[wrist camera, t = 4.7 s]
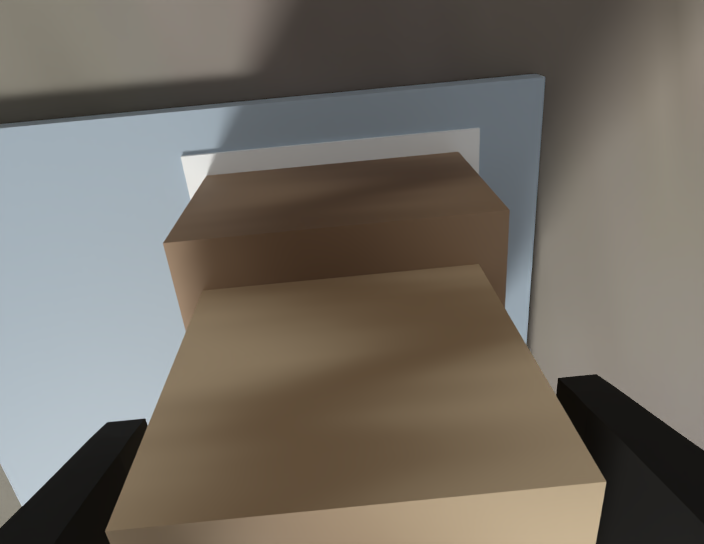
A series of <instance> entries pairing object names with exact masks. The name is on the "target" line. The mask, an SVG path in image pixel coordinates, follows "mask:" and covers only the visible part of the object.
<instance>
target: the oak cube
mask: <svg viewBox="0 0 704 544" xmlns="http://www.w3.org/2000/svg"><path fill="white" fill-rule="evenodd" d="M605 487H606V480H605V478H604V477H603V475H602V473H601V472H600V470H599V468H598V466H597V465H596V463H595V461H594V460H593V458H592V456H591V454H590V453H589V451H588V449H587V448H586V446H585V444H584V443H583V441H582V439H581V437H580V436H579V434H578V432H577V431H576V429H575V427H574V425H573V424H572V422H571V420H570V419H569V417H568V415H567V414H566V412H565V410H564V408H563V407H562V405H561V403H560V402H559V400H558V398H557V396H556V395H555V393H554V391H553V390H552V388H551V386H550V384H549V383H548V381H547V379H546V378H545V376H544V374H543V373H542V371H541V369H540V367H539V366H538V364H537V362H536V361H535V359H534V357H533V355H532V354H531V352H530V350H529V349H528V347H527V345H526V344H525V342H524V340H523V338H522V337H521V335H520V333H519V332H518V330H517V328H516V326H515V325H514V323H513V321H512V320H511V318H510V316H509V315H508V313H507V311H506V309H505V308H504V306H503V304H502V303H501V301H500V299H499V297H498V296H497V294H496V292H495V291H494V289H493V287H492V285H491V284H490V282H489V280H488V279H487V277H486V275H485V274H484V272H483V270H482V268H481V267H480V265H479V264H473V265H463V266H453V267H442V268H432V269H421V270H411V271H401V272H390V273H380V274H370V275H359V276H349V277H338V278H328V279H318V280H307V281H297V282H286V283H276V284H266V285H255V286H245V287H234V288H224V289H214V290H203V291H202V293H201V296H200V298H199V301H198V303H197V306H196V308H195V311H194V313H193V316H192V318H191V320H190V323H189V325H188V328H187V330H186V333H185V335H184V338H183V340H182V343H181V345H180V348H179V350H178V353H177V355H176V357H175V360H174V362H173V365H172V367H171V370H170V372H169V375H168V377H167V380H166V382H165V385H164V387H163V390H162V392H161V394H160V397H159V399H158V402H157V404H156V407H155V409H154V412H153V414H152V417H151V419H150V422H149V424H148V427H147V429H146V431H145V434H144V436H143V439H142V441H141V444H140V446H139V449H138V451H137V454H136V456H135V459H134V461H133V464H132V466H131V468H130V471H129V473H128V476H127V478H126V481H125V483H124V486H123V488H122V491H121V493H120V496H119V498H118V501H117V503H116V505H115V508H114V510H113V513H112V515H111V518H110V520H109V523H108V525H107V528H106V530H105V533H106V535H107V537H108V540H109V542H110V544H596V540H597V534H598V528H599V522H600V516H601V511H602V505H603V499H604V493H605Z"/></svg>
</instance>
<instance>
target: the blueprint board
mask: <svg viewBox="0 0 704 544" xmlns="http://www.w3.org/2000/svg"><path fill="white" fill-rule="evenodd" d="M544 90H545V77H544V76H541V75H539V74H527V75H516V76H506V77H495V78H484V79H474V80H463V81H453V82H442V83H431V84H421V85H410V86H399V87H389V88H378V89H368V90H357V91H346V92H336V93H325V94H315V95H304V96H293V97H283V98H272V99H262V100H251V101H240V102H230V103H219V104H208V105H198V106H187V107H177V108H166V109H155V110H145V111H134V112H124V113H113V114H102V115H92V116H81V117H70V118H60V119H49V120H39V121H28V122H17V123H7V124H0V464H1V466H2V468H3V470H4V472H5V474H6V476H7V478H8V480H9V482H10V484H11V486H12V488H13V490H14V492H15V494H16V496H17V498H18V500H19V501H20V503H21V505H22V506H23V505H24V504H25V503H26V502H27V501H28V500H29V499H30V498H31V497H32V496H33V495H34V494H35V493H36V492H37V491H38V490H39V489H40V488H41V487H42V486H43V485H44V484H45V483H46V482H47V481H48V480H49V479H50V478H51V477H52V476H53V475H54V474H55V473H56V472H57V471H58V470H59V469H60V468H61V467H62V466H63V465H64V464H65V463H66V462H67V461H68V460H69V459H70V458H71V457H72V456H73V455H74V454H75V453H76V452H77V451H78V450H79V449H80V448H81V447H82V446H83V445H84V444H85V443H86V442H87V441H88V440H89V439H90V438H91V437H92V436H93V435H94V434H95V433H96V432H97V431H98V430H99V429H100V428H101V427H102V426H104V425H105V424H106V423H107V422H114V421H124V420H134V419H144V418H145V419H146V422H147V425H148V424H149V422H150V419H151V417H152V414H153V412H154V409H155V407H156V404H157V402H158V399H159V397H160V394H161V392H162V390H163V387H164V385H165V382H166V380H167V377H168V375H169V372H170V370H171V367H172V365H173V362H174V360H175V357H176V355H177V353H178V350H179V348H180V345H181V343H182V340H183V338H184V335H185V333H186V331H185V327H184V323H183V319H182V315H181V311H180V308H179V304H178V300H177V296H176V292H175V288H174V284H173V281H172V277H171V273H170V269H169V265H168V261H167V257H166V254H165V250H164V246H163V242H164V241H165V239H166V238H167V236H168V234H169V233H170V231H171V230H172V228H173V227H174V225H175V224H176V222H177V220H178V219H179V217H180V216H181V214H182V213H183V211H184V210H185V208H186V206H187V205H188V203H189V202H190V200H191V199H192V197H193V196H194V194H195V193H196V191H197V189H198V188H199V186H200V185H201V183H202V182H203V180H204V179H205V177H206V176H208V175H218V174H229V173H239V172H250V171H260V170H271V169H281V168H292V167H302V166H313V165H323V164H334V163H344V162H355V161H365V160H376V159H386V158H397V157H407V156H418V155H429V154H439V153H450V152H459V153H460V154H461V155H462V156H463V157H464V158H465V160H466V161H467V162H468V163H469V164H470V165H471V166H472V168H473V169H474V170H475V171H476V172H477V173H478V174H479V176H480V177H481V178H482V179H483V180H484V181H485V182H486V184H487V185H488V186H489V187H490V188H491V189H492V190H493V191H494V193H495V194H496V195H497V196H498V197H499V198H500V199H501V201H502V202H503V203H504V204H505V205H506V206H507V207H508V209H509V210H510V215H509V236H508V257H507V277H506V298H505V309H506V311H507V313H508V315H509V316H510V318H511V320H512V321H513V323H514V325H515V326H516V328H517V330H518V332H519V333H520V335H521V337H522V338H523V340H524V342H525V344H526V343H527V329H528V315H529V301H530V287H531V273H532V259H533V245H534V231H535V217H536V203H537V188H538V174H539V160H540V146H541V132H542V118H543V104H544Z"/></svg>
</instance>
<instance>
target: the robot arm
mask: <svg viewBox="0 0 704 544" xmlns="http://www.w3.org/2000/svg"><path fill="white" fill-rule="evenodd" d="M556 396H557V398H558V400H559V402H560V403H561V405H562V407H563V408H564V410H565V412H566V414H567V415H568V417H569V419H570V420H571V422H572V424H573V425H574V427H575V429H576V431H577V432H578V434H579V436H580V437H581V439H582V441H583V443H584V444H585V446H586V448H587V449H588V451H589V453H590V454H591V456H592V458H593V460H594V461H595V463H596V465H597V466H598V468H599V470H600V472H601V473H602V475H603V477H604V478H605V480H606V487H605V493H604V499H603V505H602V511H601V516H600V522H599V528H598V534H597V540H596V544H704V450H702V449H701V448H699V447H698V446H696V445H695V444H694V443H692V442H691V441H689V440H688V439H687V438H685V437H684V436H682V435H681V434H679V433H678V432H677V431H675V430H674V429H672V428H671V427H670V426H668V425H667V424H666V423H664V422H663V421H661V420H660V419H659V418H657V417H656V416H654V415H653V414H652V413H650V412H649V411H647V410H646V409H645V408H643V407H642V406H641V405H639V404H638V403H636V402H635V401H634V400H632V399H631V398H629V397H628V396H627V395H625V394H624V393H623V392H621V391H620V390H618V389H617V388H616V387H614V386H613V385H611V384H610V383H608V382H607V381H605V380H604V379H603V378H601V377H600V376H598V375H597V374H595V375H585V376H574V377H564V378H558V384H557V394H556ZM147 427H148V425H147V422H146V419H145V418H144V419H134V420H124V421H114V422H107V423H106V424H105V425H104V426H102V427H101V428H100V429H99V430H98V431H97V432H96V433H95V434H94V435H93V436H92V437H91V438H90V439H89V440H88V441H87V442H86V443H85V444H84V445H83V446H82V447H81V448H80V449H79V450H78V451H77V452H76V453H75V454H74V455H73V456H72V457H71V458H70V459H69V460H68V461H67V462H66V463H65V464H64V465H63V466H62V467H61V468H60V469H59V470H58V471H57V472H56V473H55V474H54V475H53V476H52V477H51V478H50V479H49V480H48V481H47V482H46V483H45V484H44V485H43V486H42V487H41V488H40V489H39V490H38V491H37V492H36V493H35V494H34V495H33V496H32V497H31V498H30V499H29V500H28V501H27V502H26V503H25V504H24V505H23V506H22V507H21V508H20V509H19V510H18V511H17V512H16V513H15V514H14V515H13V516H12V517H11V518H10V519H9V520H8V521H7V522H6V523H5V524H4V525H3V526H2V527H1V528H0V544H110V542H109V540H108V537H107V535H106V533H105V530H106V528H107V525H108V523H109V520H110V518H111V515H112V513H113V510H114V508H115V505H116V503H117V501H118V498H119V496H120V493H121V491H122V488H123V486H124V483H125V481H126V478H127V476H128V473H129V471H130V468H131V466H132V464H133V461H134V459H135V456H136V454H137V451H138V449H139V446H140V444H141V441H142V439H143V436H144V434H145V431H146V429H147Z"/></svg>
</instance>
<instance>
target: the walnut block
mask: <svg viewBox="0 0 704 544" xmlns="http://www.w3.org/2000/svg"><path fill="white" fill-rule="evenodd" d="M509 215H510V210H509V209H508V207H507V206H506V205H505V204H504V203H503V202H502V201H501V199H500V198H499V197H498V196H497V195H496V194H495V193H494V191H493V190H492V189H491V188H490V187H489V186H488V185H487V184H486V182H485V181H484V180H483V179H482V178H481V177H480V176H479V174H478V173H477V172H476V171H475V170H474V169H473V168H472V166H471V165H470V164H469V163H468V162H467V161H466V160H465V158H464V157H463V156H462V155H461V154H460V153H459V152H450V153H439V154H429V155H418V156H407V157H397V158H386V159H376V160H365V161H355V162H344V163H334V164H323V165H313V166H302V167H292V168H281V169H271V170H260V171H250V172H239V173H229V174H218V175H208V176H206V177H205V179H204V180H203V182H202V183H201V185H200V186H199V188H198V189H197V191H196V193H195V194H194V196H193V197H192V199H191V200H190V202H189V203H188V205H187V206H186V208H185V210H184V211H183V213H182V214H181V216H180V217H179V219H178V220H177V222H176V224H175V225H174V227H173V228H172V230H171V231H170V233H169V234H168V236H167V238H166V239H165V241H164V242H163V246H164V250H165V254H166V257H167V261H168V265H169V269H170V273H171V277H172V281H173V284H174V288H175V292H176V296H177V300H178V304H179V308H180V311H181V315H182V319H183V323H184V327H185V331H186V330H187V328H188V325H189V323H190V320H191V318H192V316H193V313H194V311H195V308H196V306H197V303H198V301H199V298H200V296H201V293H202V291H203V290H214V289H224V288H234V287H245V286H255V285H266V284H276V283H286V282H297V281H307V280H318V279H328V278H338V277H349V276H359V275H370V274H380V273H390V272H401V271H411V270H421V269H432V268H442V267H453V266H463V265H473V264H479V265H480V267H481V268H482V270H483V272H484V274H485V275H486V277H487V279H488V280H489V282H490V284H491V285H492V287H493V289H494V291H495V292H496V294H497V296H498V297H499V299H500V301H501V303H502V304H503V306H504V308H505V298H506V277H507V257H508V236H509Z"/></svg>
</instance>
